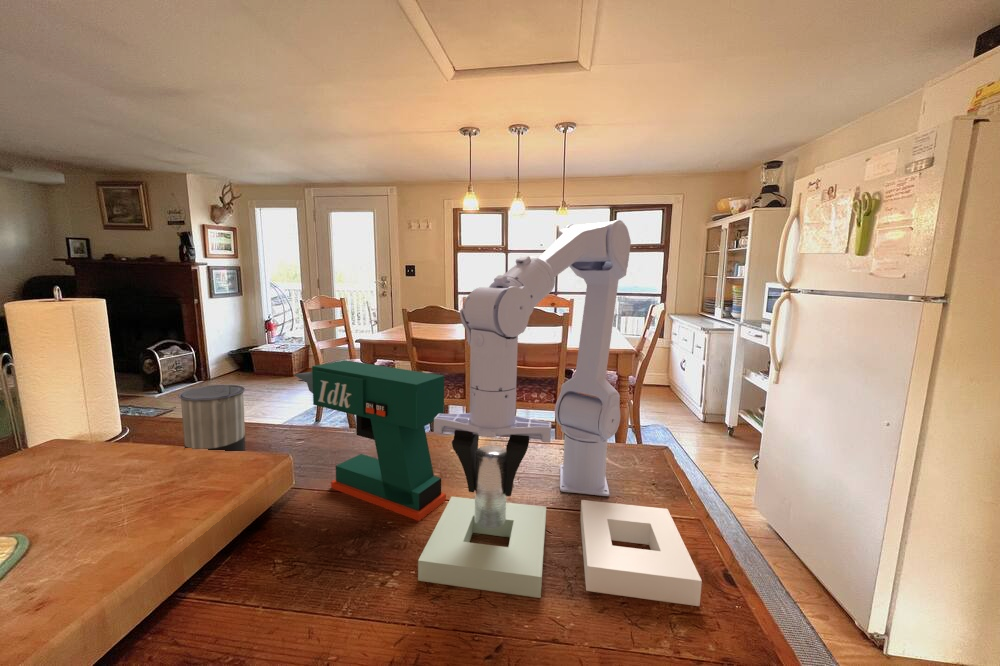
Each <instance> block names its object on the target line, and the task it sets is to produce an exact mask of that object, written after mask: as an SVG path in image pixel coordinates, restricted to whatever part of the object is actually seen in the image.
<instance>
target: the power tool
mask: <svg viewBox="0 0 1000 666" xmlns="http://www.w3.org/2000/svg"><path fill="white" fill-rule="evenodd" d="M311 368H312V369H311V371H309V372H302V373H301V372H299V373H294V374H293V376H295V377H297V378H298V379H300V380H301V381H303V382H305V383H306V385H307V387H308V391H309V392H310V393H311V394H312V400H313V401H312V403H313V404H312V405H313V406H316V407H321V408H325V409H329V410H333V411H338V412H341V413H345V414H346V413H347V414H350V415H355V416H356V417H355V418H356V419H355V420H356V424H355V427H356V428H355V429H356V436H359V437H362V438H366V439H368V440H369V439H370V440H373V441H374V443H375V448H376V454H377V458H376V457H373V456H370V455H366V454H363V453H360V454H357V455H355V456H353V457H352V458H349V459H347V460H345V461H342V462H340V463H338V464H336V465H335V479H334V480H332V481H331V482H330V489H332V490H335V491H338V492H341V493H343V494H346V495H348V496H351V497H354V498H356V499H359V500H362V501H363V502H364V501H365V502H367V503H369V504H372V503H373V504H372V505H375V504H376V506H378V505H379V506H378V507H380V506H381V507H380V508H383V507H384V508H383V509H386V510H388V509H389V510H388V511H391V512H394V513H396V514H399V515H402V516H404V517H407V518H410V519H413V520H415V521H418V522H420V521H422V520H423V519H424V518H425V517H426V516H428V515H429V514H430V513H432V512H433V511H434V510H436V509H437V508H438V507H439V506H440V505H442V504H443V503H444V502H445V501H447V494H446V493H444V492H442V477H438V476H435V474H434V470H433V464H432V463H433V462H432V458H431V454H430V448H429V443H428V438H427V434H426V426H428V425H430V424H432V423H434V418H435V417H436V416H437V415H438V414H445V375H443V374H437V373H430V372H422V371H416V370H410V369H405V368H404V369H403V368H398V367H391V366H384V365H380V364H379V365H378V364H372V363H366V362H359V361H353V360H347V359H344V360H343V359H342V360H338V361H337V360H336V361H332V362H327V363H323V364H322V363H321V364H317V365H312V366H311ZM436 507H437V508H436ZM431 511H432V512H431ZM427 514H428V515H427ZM421 519H422V520H421Z"/></svg>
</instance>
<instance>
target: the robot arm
mask: <svg viewBox="0 0 1000 666" xmlns="http://www.w3.org/2000/svg"><path fill="white" fill-rule="evenodd" d="M630 251H631V237H630V233H629V230H628V227H627V225H626V224H625V223H624V221H623V220H620V219H616V220H612V221H603V222H592V223H582V224H567V225H566V226H564V228H561V229H559V231H558V234H557V239H555V240H554V242H553V243H551V245H549V246H548V247H547V248H546V249H545V251H543V252H542V253H541V254H540V255H539V256H538V257H536V256H529V255H528V256H527V255H525V256H524V255H523V256H522V255H521V256H519V257H518V258H517V259H515V265H514V266H513V267H511V268H510V269H509V270H508V271H506V272H505V273H503V274H502V275H501V274H499V275H497V276H496V277H494V279H493V282H492V283H491V284H490V285H489V286H487V287H485V286H483V287H481V286H480V287H476V288H475V289H473V290H472V291H471V292H470V293H469V294H468V295H467V296H466V298H465V300H464V303H463V306H462V309H460V310H459V316H460V317H459V318H460V321H461V324H462V326H463V327H464V329H465V331H466V342H467V343H468V346H469V347H470V354H469V356H470V360H469V362H470V363H469V364H470V365H469V366H470V367H469V412H468V413H467V412H466V413H465V412H464V413H444V414H438V415H437V416H436V417H435V418H434V422H433V433H434V434H443V433H454V436H453V439H452V441H451V445H452V446H451V447H452V449H453V452H455V454H456V456H457V458H458V459H459V462H460V464H461V466H462V468H463V469H462V470H463V472H464V474H465V479H466V483H467V489H468V492H469V493H475V469H476V450H477V449H479V437H481V438H496V437H503V438H509V439H508V441H507V444H506V447H505V449H506V455H507V476H506V485H505V496H506V497H511V496H512V492H513V490H514V489H513V488H514V481H515V479H516V478H515V477H516V474H517V472H518V470H519V467H520V465H521V463H522V461H523V459H524V457H525V455H526V453H527V452H528V449H529V443H530V440H539V441H541V443H551V438H552V422H551V421H545V420H537V419H533V418H527V417H522V416H517V415H516V413H517V412H516V411H517V410H516V409H517V380H518V379H517V375H518V373H517V372H518V344H519V342H518V341H519V336H520V335H521V334H523V333H524V332H525V331H526V329H527V326H528V324H529V321H530V316H531V315H532V314H533V311H534V309H535V307H537V306H538V304H540V302H541V301H543V299H545V298H546V297H547V296H548V295H549V294H550V293H551V292H552V291H553V290H554V288H555V285H556V277H558V276H559V275H560V274H562V272H564V271H565V270H566V269H568V268H570V269H571V271H572V272H573V273H574V274H575V276H577V277H579V278H581V279H583V281H584V282H585V284H586V288H585V289H586V290H585V297H584V305H583V306H584V307H583V312H582V313H583V314H582V321H581V329H580V336H579V345H578V351H577V360H576V366H575V373H574V376H573V377H571V378H569V379H568V380H566V381H565V382H564V383H562V384H561V387H560V392H559V394H558V395H559V396H558V398H557V400H556V402H555V405H554V416H555V420H556V423H557V425H559V426H560V431H561V432H562V433H564V438H563V439H564V441H563V457H562V459H563V461H562V462H563V463H562V464H560V465H559V491H561V492H563V493H573V494H574V493H575V494H581V495H582V494H583V495H591V496H592V495H593V496H594V495H595V496H600V497H601V496H602V497H610V490H609V485H608V482H607V476H606V469H607V451H608V440H609V439H611V438H612V437H613V436H614V435H616V433H617V432H618V429H619V428H620V427H619V426H620V423H621V409H620V408H621V405H620V401H621V397H620V396H621V395H620V393H619V392H618V390H616V388H615V387H614V386H613V384H612V385H611V383H610V382H609V381H608V379H606V378H607V372H608V371H607V370H608V362H609V355H610V348H611V341H612V332H613V331H612V330H613V326H614V325H613V324H614V316H615V311H616V302H617V295H618V289H619V288H618V287H619V281H620V280H621V279H623V278H624V277H626V275H627V272H628V271H627V270H628V266H629V259H630Z"/></svg>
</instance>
